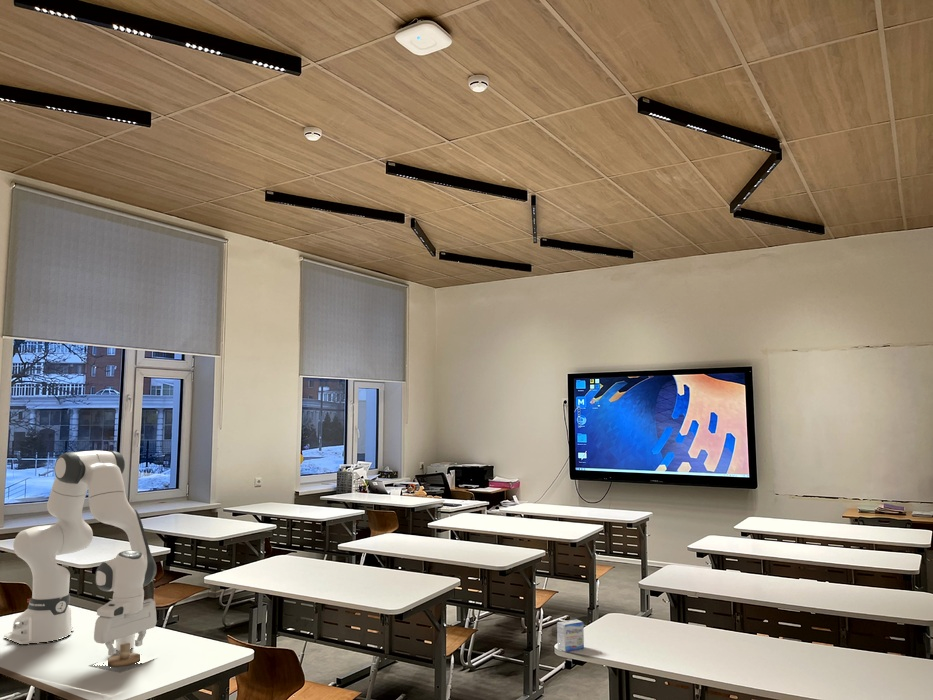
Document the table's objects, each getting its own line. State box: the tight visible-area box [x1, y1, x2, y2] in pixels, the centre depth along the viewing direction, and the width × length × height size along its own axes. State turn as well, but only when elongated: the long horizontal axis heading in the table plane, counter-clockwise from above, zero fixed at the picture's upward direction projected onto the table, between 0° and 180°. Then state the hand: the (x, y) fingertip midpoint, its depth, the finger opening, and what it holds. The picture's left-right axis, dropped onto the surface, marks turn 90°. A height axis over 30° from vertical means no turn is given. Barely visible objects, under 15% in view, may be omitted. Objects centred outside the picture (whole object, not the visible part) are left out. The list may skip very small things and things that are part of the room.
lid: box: [108, 643, 140, 667], centre depth 210 cm, size 9×9×5 cm
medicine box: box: [556, 618, 585, 653], centre depth 223 cm, size 8×4×9 cm, turn 117°
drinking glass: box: [115, 633, 136, 650], centre depth 223 cm, size 7×7×15 cm
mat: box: [88, 662, 143, 673], centre depth 209 cm, size 14×14×1 cm
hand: (125, 650), depth 209 cm, fingers open, 8 cm apart
